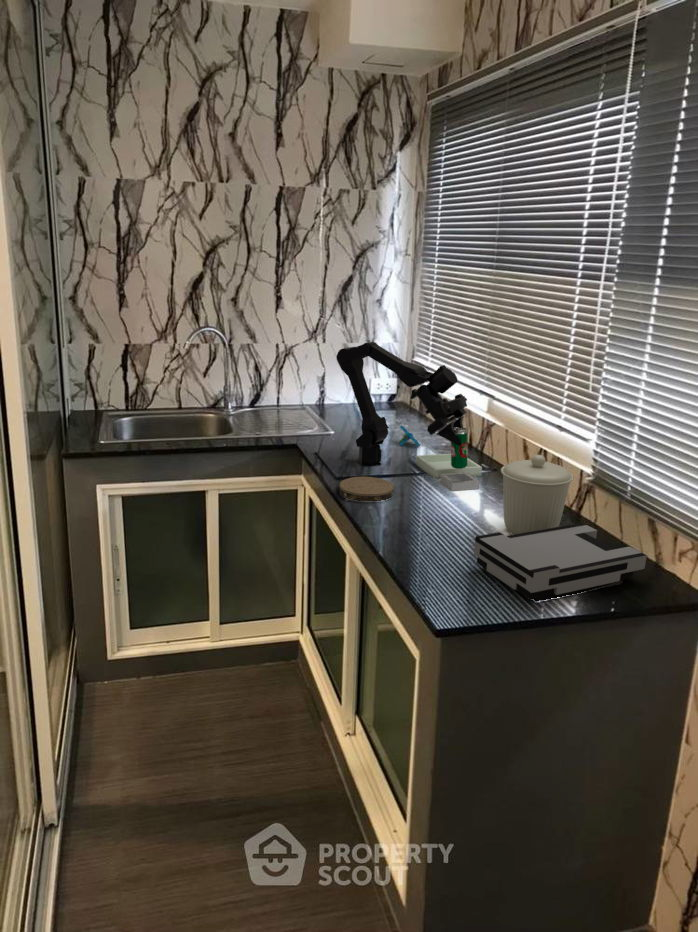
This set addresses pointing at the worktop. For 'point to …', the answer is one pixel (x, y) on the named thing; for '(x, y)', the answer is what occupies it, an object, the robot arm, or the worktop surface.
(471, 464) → the sage tray
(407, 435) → the gear
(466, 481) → the steel socket
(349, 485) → the tan round disc
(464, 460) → the soda can
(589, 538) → the game console
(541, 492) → the canister
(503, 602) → the worktop surface
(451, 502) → the worktop surface
